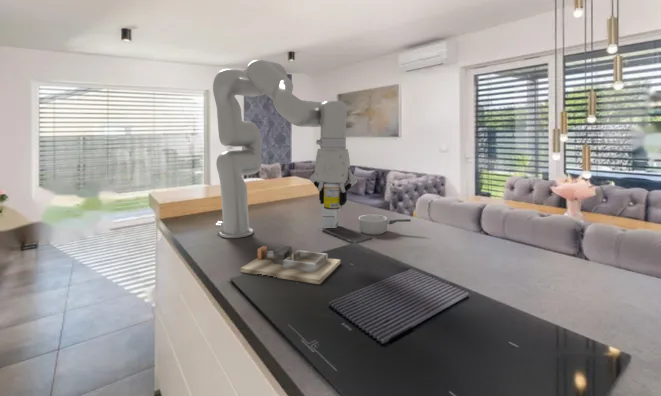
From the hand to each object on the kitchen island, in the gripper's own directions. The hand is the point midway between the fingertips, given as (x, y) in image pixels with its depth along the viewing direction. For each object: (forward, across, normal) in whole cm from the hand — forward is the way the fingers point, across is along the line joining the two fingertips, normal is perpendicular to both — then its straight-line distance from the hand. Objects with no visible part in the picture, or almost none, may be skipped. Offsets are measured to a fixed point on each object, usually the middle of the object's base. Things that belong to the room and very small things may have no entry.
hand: (332, 203), depth 112 cm
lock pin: (+16, -15, -12) cm, 25 cm away
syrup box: (+18, -14, +33) cm, 40 cm away
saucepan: (+17, +9, +33) cm, 38 cm away
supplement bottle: (+2, 0, 0) cm, 2 cm away
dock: (+17, -8, -13) cm, 23 cm away
